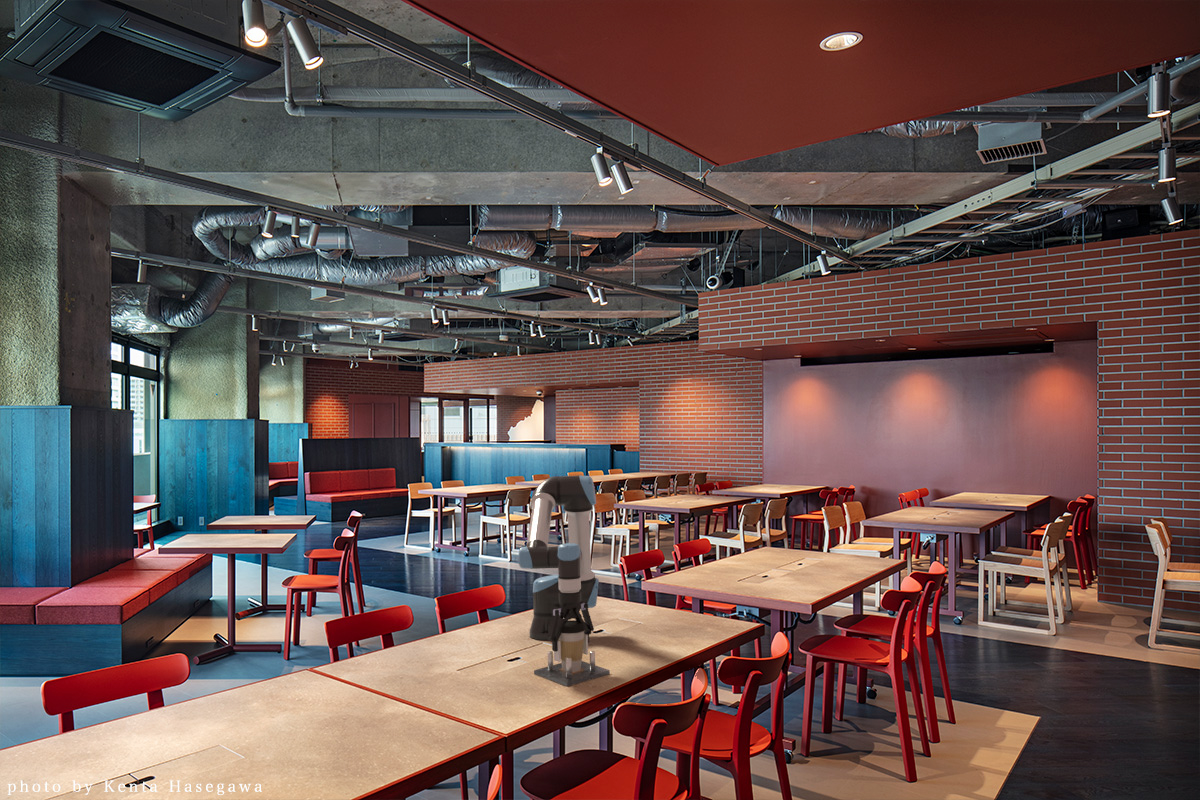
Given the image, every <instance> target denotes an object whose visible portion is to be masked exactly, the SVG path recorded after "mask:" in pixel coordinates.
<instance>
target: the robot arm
mask: <svg viewBox="0 0 1200 800" xmlns="http://www.w3.org/2000/svg"><path fill="white" fill-rule="evenodd" d="M530 499H531V500H530V505H531V507H532V508H531V515H530V522H529V528H528V534H527V540H526V541H527V542H526V546H521V547H520V548H519V550H518V564H519V565H518V566H519V567H520V568H521V569H529V570H535V569H536V570H537V569H538V570H539V569H541V570H542V569H557V571H558V574H553V575H552V574H551V575H546V576H541V577H539V578H538V577H537V578H536V579H535V580H534V581H533V583H532V601H533V602H532V604H533V605H532V607H533V609H532V610H533V611H532V612H533V617H532V621H531V624H530V628H529V637H530V638H531V639H534V640H539V641H540V640H541V641H542V640H543V641H551V650H552V651H553V661H555V662H558V663H561V645H560V641H558V640H559V638H560V635H561V632H562V629H563V626H565V624H566V622H567V621H569V620H573V619H574V620H575V621H578V622H583V623H584V626H585V629H586V630H585V631H584V644H583V654H582V655H589V643H590V635H591V634H592V632H594V630H595V627H594V624H593V622H592V618H591V615H590V611H589V609H593V608H596V606H597V603H598V601H597V599H598V591H599V582H600V580H599V578H597V577H596V573H594V571H593V570H592V558H591V554H592V553H591V532H590V531H591V529H590V527H591V525H590V513H591V512H592V511H593V510H594V509H593V508H594V507H593V506H595V505H597V496H596V490H595V484H594V481H593V477H592V476H590V475H560V476H556V475H555V476H551V477H548V478H546V479H545V480H543V481H542V482H540V483H539V484H538V486H537V487H536V488H535V489H534V491H533V493H532V495H531V498H530ZM556 506H562V507H563V511H564V512H565V513H566V514H567V531H568V542H567V543H561V544H559V545H555V546H554V545H553V546H549V537H550V530H551V523H552V512H553V510H554V509H555V507H556ZM580 611H581V612H580Z"/></svg>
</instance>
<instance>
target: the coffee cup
mask: <svg viewBox="0 0 1200 800" xmlns="http://www.w3.org/2000/svg"><path fill="white" fill-rule="evenodd" d="M585 630H586V629H585V626H584V623H583V622H578V621H576V619H574V620H573V619H570V620H568V621H567V622H566V624H565V626H563V629H562V632H561V635H560V638H559V640H558V641H560V645H561V661H560V663H562V670H563V671H565V672H566V658H567V657H571V665H572V672H576V671H579V670H581V661H583V660H582V659H583V655H584V654H583V644H584V631H585Z"/></svg>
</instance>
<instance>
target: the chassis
mask: <svg viewBox="0 0 1200 800" xmlns="http://www.w3.org/2000/svg"><path fill="white" fill-rule="evenodd" d="M610 671H611V670H609V669H608V668H604V667H601V666H598V665H596V651H594V650H591V651H589V662H586V661H583V660H582V661H581V670H579V671H576V672H572V665H571V657H567V658H566V672H565V671H563V670H562V662H558V663H556V664H554V651H553V650H552V651H551V650H550V651H547V666H545V667H542V668H537V669H534V670H533V675H536V676H538V677H541V678H543V679H546V680H548V681H552V682H554V683H557V684H559V685H562V686H563V687H564V686H565V687H570V686H573V684H574V685H577V684H580V682H581V683H584V682H587V681H590V680H593V679H598V678H600V677H603V676H608V675H610V673H611V672H610ZM583 681H584V682H583Z"/></svg>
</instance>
